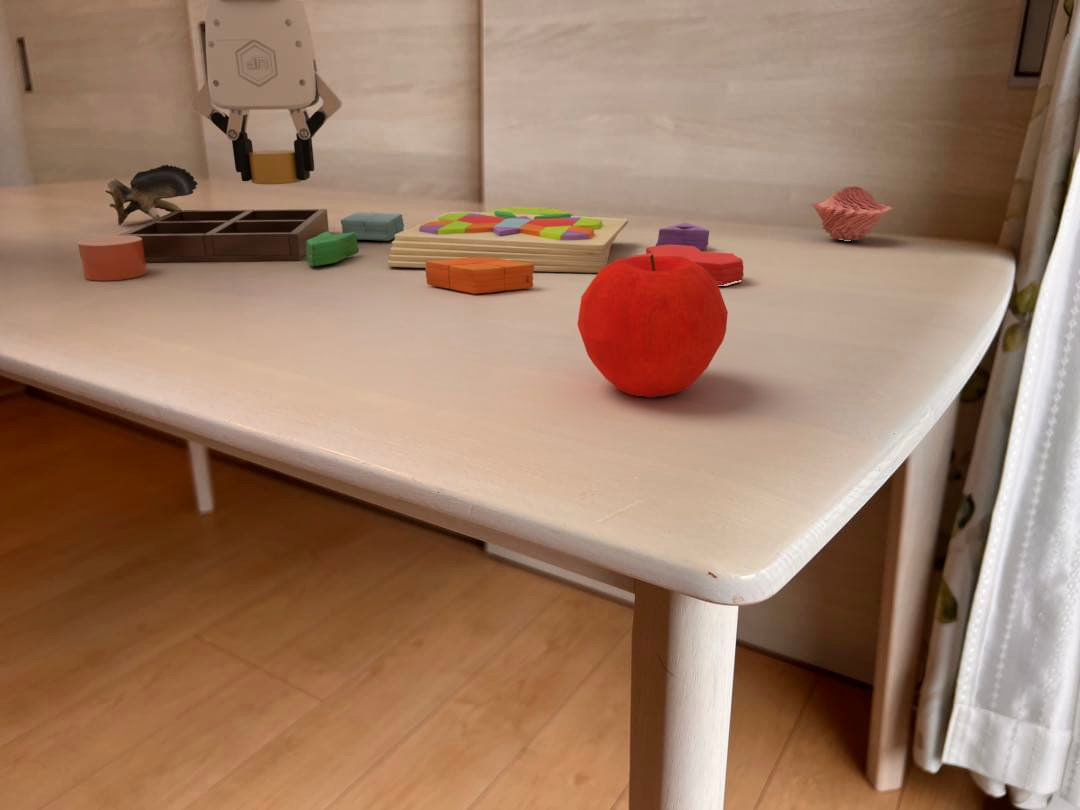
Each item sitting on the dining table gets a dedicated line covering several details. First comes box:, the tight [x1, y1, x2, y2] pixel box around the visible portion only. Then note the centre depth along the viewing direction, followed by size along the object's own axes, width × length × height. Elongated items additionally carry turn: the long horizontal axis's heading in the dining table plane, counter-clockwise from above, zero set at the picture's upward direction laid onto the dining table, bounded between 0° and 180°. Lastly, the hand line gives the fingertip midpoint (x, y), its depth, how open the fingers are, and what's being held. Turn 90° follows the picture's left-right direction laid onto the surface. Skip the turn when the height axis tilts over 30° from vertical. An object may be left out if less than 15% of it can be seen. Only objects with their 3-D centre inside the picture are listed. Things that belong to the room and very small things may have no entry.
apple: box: [576, 254, 729, 398], centre depth 46 cm, size 8×8×7 cm
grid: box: [116, 208, 330, 263], centre depth 87 cm, size 16×16×2 cm
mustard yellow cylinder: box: [248, 149, 302, 185], centre depth 89 cm, size 5×5×3 cm
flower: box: [810, 186, 894, 241], centre depth 89 cm, size 8×8×6 cm
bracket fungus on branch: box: [105, 164, 199, 226], centre depth 101 cm, size 8×7×9 cm
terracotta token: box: [77, 234, 148, 282], centre depth 74 cm, size 5×5×3 cm
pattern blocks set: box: [306, 206, 745, 295], centre depth 83 cm, size 38×34×3 cm
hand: (276, 177), depth 89 cm, fingers closed on mustard yellow cylinder, 5 cm apart
